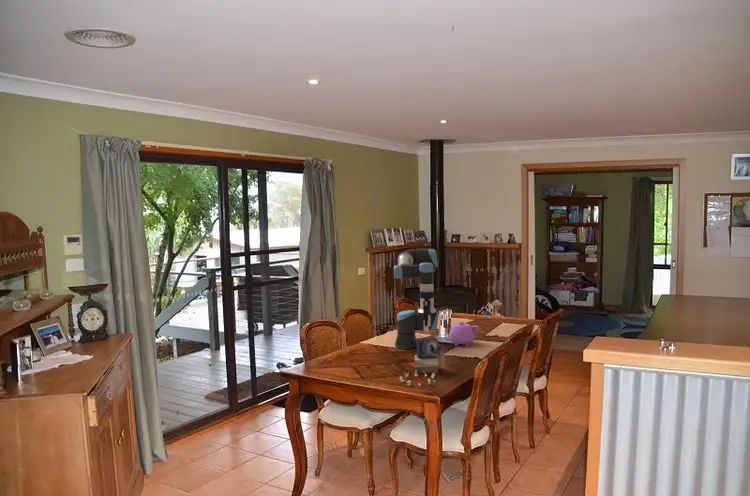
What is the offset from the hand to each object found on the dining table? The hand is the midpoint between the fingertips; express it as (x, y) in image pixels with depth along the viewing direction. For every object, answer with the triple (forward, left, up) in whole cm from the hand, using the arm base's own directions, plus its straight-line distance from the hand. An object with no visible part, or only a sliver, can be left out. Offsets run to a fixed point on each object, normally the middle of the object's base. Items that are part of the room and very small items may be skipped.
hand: (427, 328), depth 321 cm
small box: (0, 0, -16) cm, 16 cm away
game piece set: (+19, -4, -24) cm, 31 cm away
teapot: (-65, +19, -24) cm, 72 cm away
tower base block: (0, -1, -24) cm, 24 cm away
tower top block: (+1, -1, -20) cm, 20 cm away
